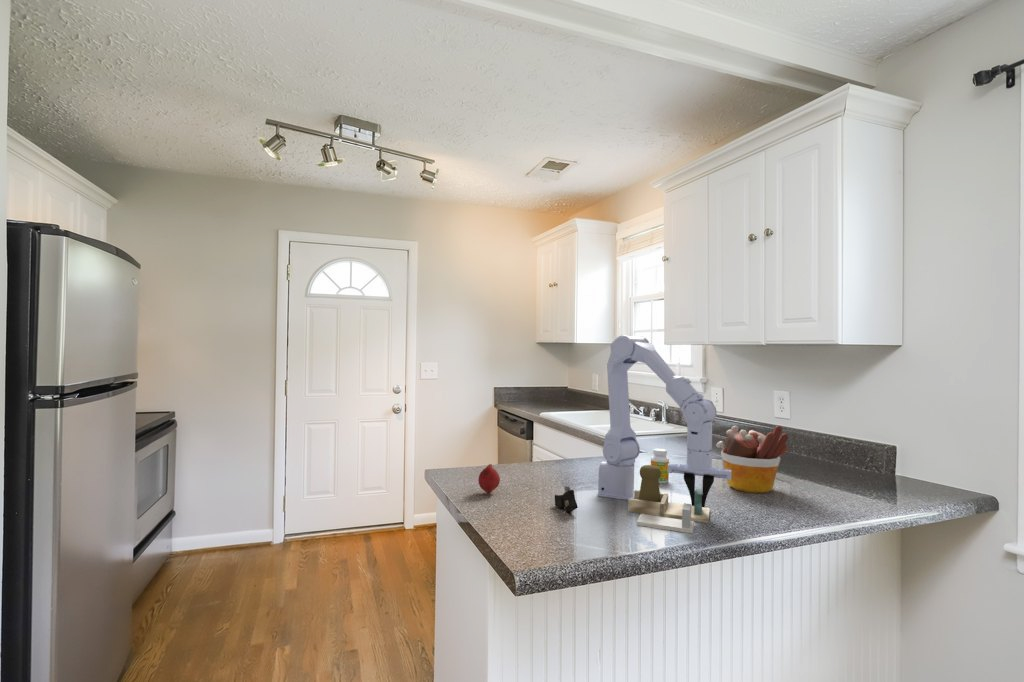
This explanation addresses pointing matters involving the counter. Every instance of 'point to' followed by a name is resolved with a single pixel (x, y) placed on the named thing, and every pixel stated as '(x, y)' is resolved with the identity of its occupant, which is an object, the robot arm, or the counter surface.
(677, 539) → the counter surface
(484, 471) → the onion
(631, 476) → the robot arm
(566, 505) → the black angular piece
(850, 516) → the counter surface
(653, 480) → the cork
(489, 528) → the counter surface
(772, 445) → the bucket of meat
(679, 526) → the cream base with post
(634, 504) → the cream slotted holder
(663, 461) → the supplement bottle
